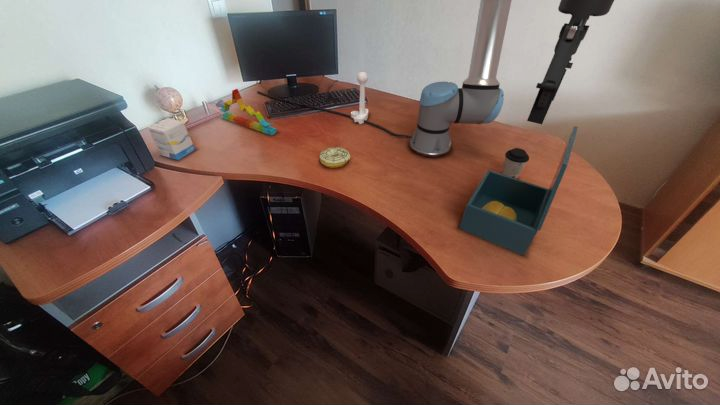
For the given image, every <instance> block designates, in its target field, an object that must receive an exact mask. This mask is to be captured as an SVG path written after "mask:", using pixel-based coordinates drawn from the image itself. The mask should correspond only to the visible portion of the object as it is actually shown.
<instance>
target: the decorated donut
mask: <svg viewBox="0 0 720 405" xmlns="http://www.w3.org/2000/svg"><path fill="white" fill-rule="evenodd" d="M350 160H351V154H350V152H349V151H348V149H345V148H343V147H342V146H341V147H340V146H338V147H337V146H334V147H328V148H325V149H324V150H322V151H321V152H320V153H319V162H320V163H321V164H322V165H323V166H324V167H327V168H329V169H339V168H342V167H344V166H345V165H346V164H347V163H348V162H349V161H350Z"/></svg>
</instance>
